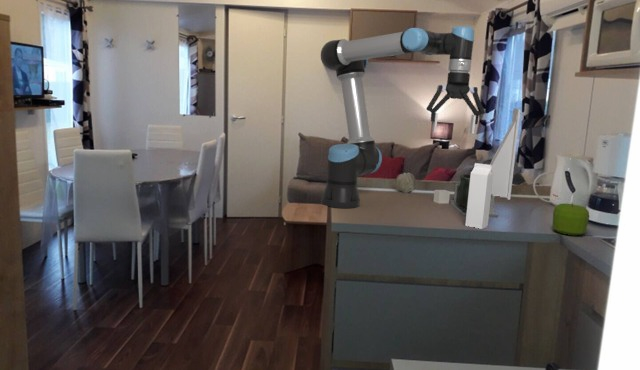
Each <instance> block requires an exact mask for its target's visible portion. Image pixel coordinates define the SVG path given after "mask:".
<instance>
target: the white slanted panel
mask: <svg viewBox="0 0 640 370" xmlns="http://www.w3.org/2000/svg"><path fill="white" fill-rule="evenodd" d="M521 111H522V110H521V109H520V108H513V109H512V116H511V124H510V125H509V128H508V129H507V131H506V133H505V135H504V137H503V138H502V140H501V142H500V144H499V147H497V150H496V152H495V154H494V155H493V157H492V159H491V161H490V163H489V165H491V166H492V168H491V170H492V172H493V183H492V192H491V194H493V195H494V196H500V197H499V198H506V199H507V201H508V200H511V196H512V195H511V194H512V187H513V179H514V171H515V161H516V153H517V144H518V136H519V127H520V121H521Z"/></svg>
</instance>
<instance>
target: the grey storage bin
mask: <svg viewBox="0 0 640 370" xmlns="http://www.w3.org/2000/svg"><path fill="white" fill-rule="evenodd" d="M454 185H455V186H454V193H453V199H449V203H448V204H449V205H451V206H452V207H453V208H454V209H456V210H457V211H458V212H459V213H461V215H462V216H465V217H466V214H467V207H463V206H460V205H459V203H458V201H459V191H460V181H459V182H457V183H455V184H454ZM495 198H496V197H495V196H494V195H493V194H491V201H490V210H489V218H498V217H499V214H498V213H496V212H495V211H494V210H495V209H494V208H495Z"/></svg>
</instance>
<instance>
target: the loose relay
mask: <svg viewBox="0 0 640 370" xmlns="http://www.w3.org/2000/svg"><path fill="white" fill-rule="evenodd" d="M433 192H434V193H433V202H434V203H436V204H450V203H449V200H450V195H451V192H450V191H449V190H446V189H435V190H434V191H433Z"/></svg>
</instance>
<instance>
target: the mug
mask: <svg viewBox="0 0 640 370" xmlns="http://www.w3.org/2000/svg"><path fill="white" fill-rule="evenodd" d="M470 175H471V174H465V173H464V174H460V175H459V177H460V181H459V182H460V191H459V201H458V203H459V205H460V206H463V207H467V204H468V194H469V185H470Z"/></svg>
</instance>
